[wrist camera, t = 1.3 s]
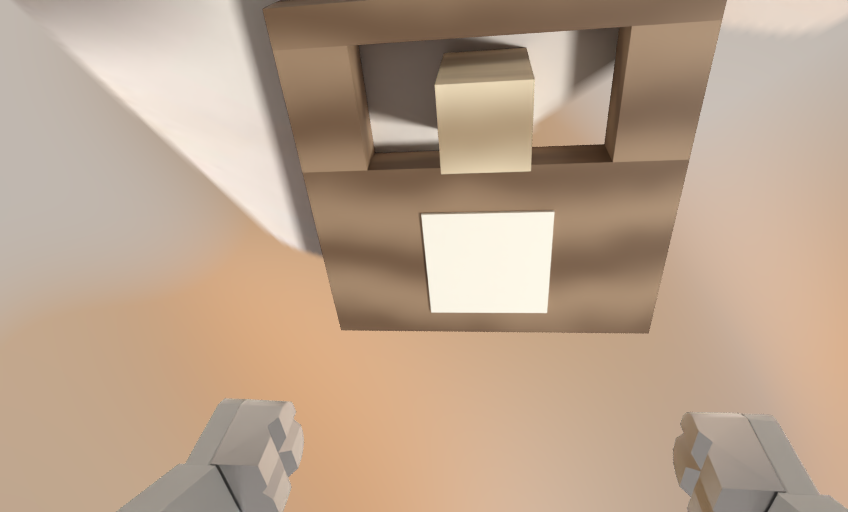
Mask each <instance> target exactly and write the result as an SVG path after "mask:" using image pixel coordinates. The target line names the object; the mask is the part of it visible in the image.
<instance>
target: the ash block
mask: <svg viewBox="0 0 848 512" xmlns="http://www.w3.org/2000/svg"><path fill="white" fill-rule="evenodd" d="M534 83H535V79H534V75H533V71H532V67H531V64H530V60H529V56H528V52H527V49H526V48H514V49H499V50H483V51H468V52H452V53H444V54H443V58H442V61H441V65H440V68H439V72H438V75H437V79H436V82H435V96H436V110H437V124H438V138H439V152H440V166H441V174H463V173H494V172H525V171H531V157H532V133H533V108H534Z"/></svg>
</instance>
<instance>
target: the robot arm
mask: <svg viewBox="0 0 848 512" xmlns="http://www.w3.org/2000/svg"><path fill="white" fill-rule="evenodd" d="M295 413H296V411H295V408H294V405H293V403H292V402H284V401H267V400H250V399H226V398H225V399H224V400H223V401H221V402H220V403H219V404H218V406H217V408H216V410H215V411H214V413H213V415H212V416H211V418H210V420H209V422H208V424H207V426H206V427H205V429H204V431H203V433H202V434H201V437H200V438H199V440H198V442H197V443H196V445H195V447H194V449H193V451H192V452H191V454H190V456H189V458H188V460H187V461H186V463H185V464H178V465H176V466H175V467H174V468H173V469H171V470H170V471H169V472H167V473H166V474H165V475H163V476H162V477H161V478H159V479H158V480H157V481H156V482H154V483H153V484H152V485H150V486H149V487H148V488H147V489H145V490H144V491H143V492H141V493H140V494H139V495H137V496H136V497H135V498H133V499H132V500H131V501H130V502H128V503H127V504H126V505H124V506H123V507H122V508H120V509H119V510H118V511H116V512H283V510H284V507H285V505H286V501H287V499H288V496H289V493H290V490H291V484H290V482H289V479H288V477H289V476H290V475H291V474H292V473H293V472H294V471H295V470H297V469H298V467H299V464H300V461H301V457H302V453H303V445H304V438H303V431H302V428H301V425H300V424H299V423H298V422H296V421H295V420H294V416H295ZM680 425H681V427H682V430H683V434H682V435H680V436H679V437H677V438H676V440H675V444H674V448H673V464H674V469H675V474H676V477H677V480H678V483H679V486H680V487H681V488H682V489H683V490H684V491H685V492H686V493H687V494H688V495H689V496H690V497H691V499H690V502H689V504H688V507H687V510H688V512H848V509H847V508H845V507H844V506H843V505H841V504H840V503H839V502H838V501H836V500H835V499H834V498H832V497H831V496H829V495H820V493H819V492H818V490H817V488H816V486H815V485H814V483H813V481H812V480H811V478H810V476H809V474H808V473H807V471H806V469H805V468H804V466H803V464H802V462H801V461H800V459H799V457H798V456H797V454H796V452H795V451H794V449H793V447H792V445H791V444H790V442H789V440H788V439H787V437H786V435H785V434H784V432H783V430H782V428H781V426H780V425H779V423H778V421H777V420H776V419H775V418H774V417H773V416H772V415H768V414H739V413H703V412H701V413H700V412H687V413H686V414H684V415H683V418H682V420H681V423H680Z"/></svg>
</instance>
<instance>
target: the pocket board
mask: <svg viewBox="0 0 848 512" xmlns="http://www.w3.org/2000/svg"><path fill="white" fill-rule="evenodd" d="M726 1H727V0H282V1H278V2H276V3H273V4H271V5H269V6H267V7H265V8H263V9H262V10H263V14H264V18H265V22H266V26H267V30H268V34H269V38H270V42H271V46H272V50H273V54H274V58H275V63H276V67H277V71H278V75H279V79H280V83H281V87H282V91H283V95H284V99H285V103H286V107H287V111H288V116H289V120H290V124H291V128H292V132H293V136H294V140H295V144H296V148H297V152H298V156H299V160H300V164H301V168H302V173H303V177H304V181H305V185H306V189H307V193H308V197H309V201H310V205H311V209H312V213H313V217H314V221H315V225H316V230H317V234H318V238H319V242H320V246H321V250H322V254H323V258H324V262H325V266H326V270H327V274H328V278H329V282H330V287H331V291H332V295H333V299H334V303H335V307H336V311H337V315H338V319H339V323H340V327H341V330H369V331H371V330H372V331H378V330H379V331H465V332H467V331H468V332H562V333H565V332H566V333H649V329H650V325H651V321H652V317H653V312H654V308H655V304H656V300H657V295H658V291H659V287H660V283H661V278H662V274H663V270H664V265H665V261H666V257H667V252H668V248H669V244H670V239H671V236H672V231H673V227H674V223H675V219H676V214H677V210H678V206H679V202H680V197H681V193H682V189H683V185H684V180H685V175H686V172H687V168H688V163H689V159H690V155H691V150H692V146H693V142H694V137H695V133H696V129H697V125H698V121H699V116H700V112H701V108H702V104H703V99H704V95H705V91H706V87H707V82H708V78H709V73H710V70H711V65H712V61H713V56H714V53H715V48H716V44H717V40H718V35H719V31H720V27H721V23H722V18H723V14H724V10H725V6H726ZM614 27H619V34H618V42H617V50H616V58H615V65H614V73H613V81H612V89H611V97H610V105H609V112H608V121H607V128H606V136H605V144H603V145H576V146H549V147H532V157H531V171H525V172H494V173H463V174H441V166H440V152H439V151H419V152H393V153H375V151H374V144H373V138H372V131H371V124H370V118H369V111H368V104H367V98H366V91H365V85H364V78H363V71H362V65H361V58H360V52H359V45H365V44H380V43H394V42H409V41H423V40H438V39H453V38H467V37H482V36H497V35H511V34H526V33H541V32H555V31H570V30H584V29H599V28H614Z"/></svg>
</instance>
